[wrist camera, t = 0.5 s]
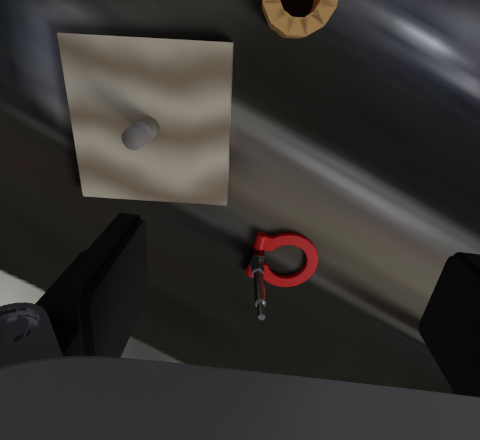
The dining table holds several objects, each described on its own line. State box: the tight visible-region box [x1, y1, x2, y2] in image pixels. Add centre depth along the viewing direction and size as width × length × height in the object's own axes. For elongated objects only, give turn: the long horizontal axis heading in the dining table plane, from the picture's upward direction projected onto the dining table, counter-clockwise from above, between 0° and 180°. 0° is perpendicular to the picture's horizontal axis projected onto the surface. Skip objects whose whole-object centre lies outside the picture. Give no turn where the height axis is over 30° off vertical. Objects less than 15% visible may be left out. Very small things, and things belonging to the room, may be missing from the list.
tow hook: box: [246, 232, 318, 320], centre depth 42 cm, size 8×13×9 cm
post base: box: [57, 33, 233, 206], centre depth 37 cm, size 18×18×8 cm
